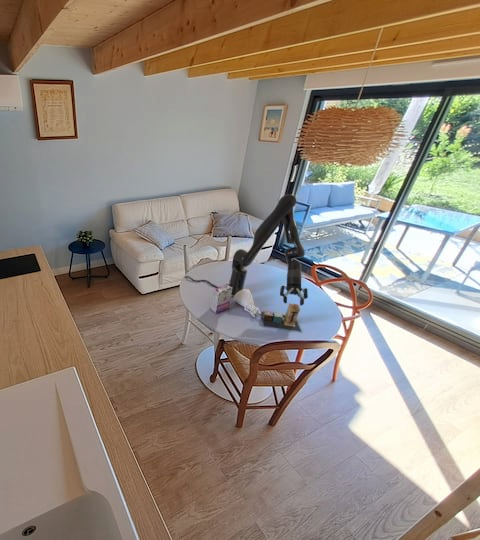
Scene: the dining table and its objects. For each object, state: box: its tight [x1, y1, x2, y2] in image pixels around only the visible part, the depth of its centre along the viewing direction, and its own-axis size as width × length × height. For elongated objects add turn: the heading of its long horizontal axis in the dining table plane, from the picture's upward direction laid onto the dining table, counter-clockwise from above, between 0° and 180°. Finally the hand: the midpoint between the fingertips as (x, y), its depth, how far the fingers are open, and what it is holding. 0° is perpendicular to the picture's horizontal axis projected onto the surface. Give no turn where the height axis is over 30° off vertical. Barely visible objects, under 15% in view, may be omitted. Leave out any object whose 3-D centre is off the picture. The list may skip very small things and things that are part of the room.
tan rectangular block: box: [284, 303, 301, 325], centre depth 170 cm, size 5×5×12 cm
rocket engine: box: [233, 288, 262, 318], centre depth 183 cm, size 12×12×18 cm
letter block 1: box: [261, 310, 273, 322], centre depth 174 cm, size 4×4×5 cm
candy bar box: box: [210, 284, 233, 314], centre depth 181 cm, size 11×5×16 cm, turn 117°
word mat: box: [260, 311, 302, 332], centre depth 173 cm, size 20×14×1 cm
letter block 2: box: [272, 311, 283, 323], centre depth 173 cm, size 4×4×5 cm
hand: (293, 304), depth 168 cm, fingers open, 8 cm apart
